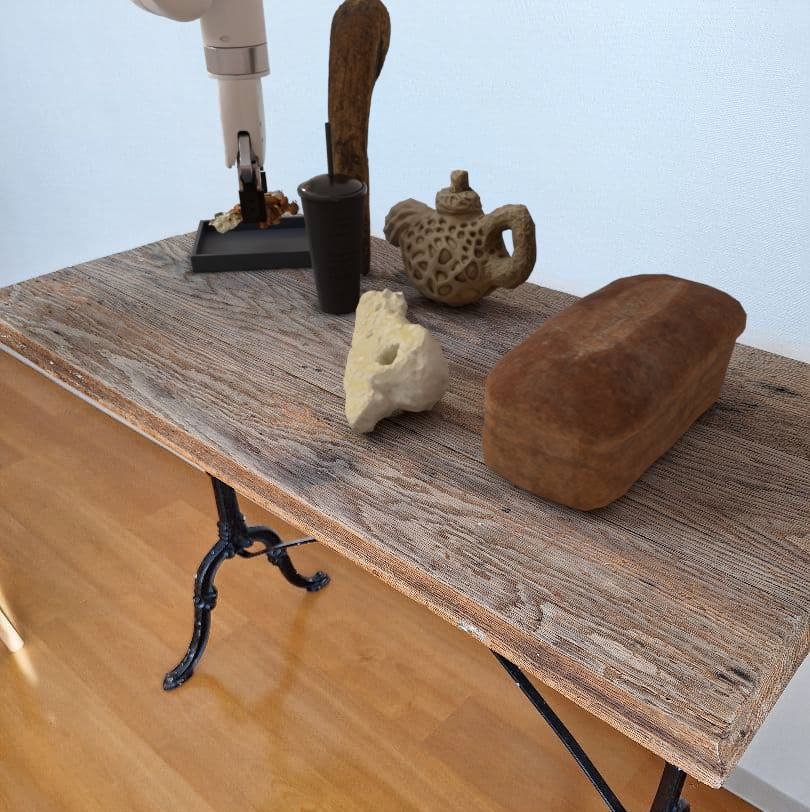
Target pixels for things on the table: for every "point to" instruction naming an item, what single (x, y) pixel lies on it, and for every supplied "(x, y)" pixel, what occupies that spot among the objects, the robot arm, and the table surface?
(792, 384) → the table surface
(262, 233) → the serving tray
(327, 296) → the drinking cup
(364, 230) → the sculpture
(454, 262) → the teapot
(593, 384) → the bread
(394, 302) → the cheese
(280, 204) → the taco
